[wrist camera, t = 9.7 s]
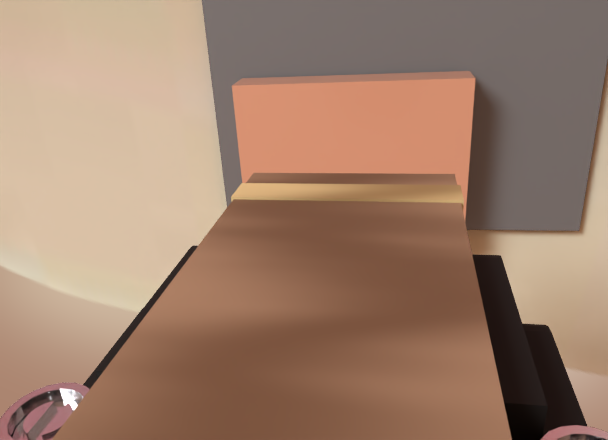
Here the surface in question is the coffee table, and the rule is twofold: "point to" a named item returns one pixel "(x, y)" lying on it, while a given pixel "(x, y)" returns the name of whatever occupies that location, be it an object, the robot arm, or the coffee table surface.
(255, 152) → the tile
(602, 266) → the coffee table surface
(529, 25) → the mat
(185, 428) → the block
